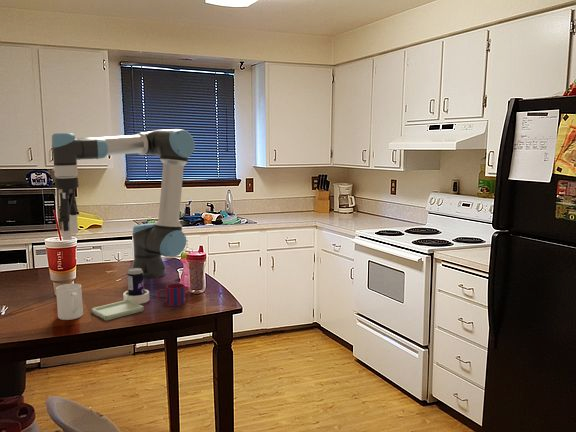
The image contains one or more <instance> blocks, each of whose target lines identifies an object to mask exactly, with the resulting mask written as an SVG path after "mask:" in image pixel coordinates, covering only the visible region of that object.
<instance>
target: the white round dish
mask: <svg viewBox="0 0 576 432" xmlns="http://www.w3.org/2000/svg"><path fill="white" fill-rule="evenodd" d="M122 297H123V300H122V301H125V300H131V301H133V302H135V303H137V304H139V305H142V304H144V303H146V304H147V303H148V302H149V301H150V290H148V289H145V288H144V294H143V295H138V296H129V294H128V290H126V291H124V292H123V295H122Z"/></svg>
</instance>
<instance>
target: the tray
mask: <svg viewBox="0 0 576 432" xmlns="http://www.w3.org/2000/svg"><path fill="white" fill-rule="evenodd" d="M144 307H145V306H143V305H142V304H137V303H135V302H133V301H131V300H125V301H123V300H122V301H121V300H120V301H117V302H113V303H112V302H111V303H108V304H104V305H101V306H95V307H92V308H91V313H92V314H93V315H95V316H97V317H99V318H100V319H101V320H104V321H109V320H113V319H114V320H115V319H119V318H122V317H125V316H130V315H134V314H137V313H141V312H143V311H145V309H144Z"/></svg>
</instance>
